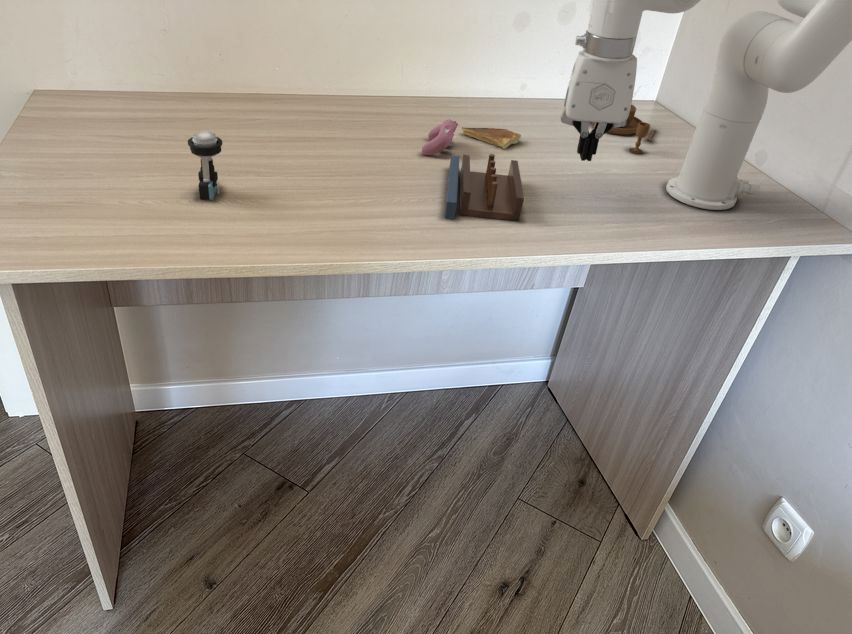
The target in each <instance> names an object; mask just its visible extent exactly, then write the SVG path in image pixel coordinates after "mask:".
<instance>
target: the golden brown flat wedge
mask: <svg viewBox="0 0 852 634" xmlns="http://www.w3.org/2000/svg"><path fill="white" fill-rule="evenodd" d="M461 130H462V135H466V136H468V137H470V138H475V139H477V140H479V141H482V142H486V143H488V144H490V145H495V146H497V147H499V148H502V149H503V150H506V149H508V148H509V147H510V146H511V145H516V144H519V141H520V139H521V138H522V134H521V133H518V132H516V131H515V132H514V131H512V130H509V129H507V128H494V127H463V126H462V127H461Z"/></svg>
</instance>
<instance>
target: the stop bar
mask: <svg viewBox="0 0 852 634" xmlns="http://www.w3.org/2000/svg"><path fill="white" fill-rule="evenodd" d="M459 171H460V156H459V155H452V154H451V155H450V161H449V168H448V177H447V187H446V197H445V198H446V200H445V210H444V218H445V219H451V220H455V215H456V212H457V211H456V210H457V204H458V203H457V202H458V191H459V188H458V187H459V175H460V172H459Z"/></svg>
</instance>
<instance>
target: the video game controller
mask: <svg viewBox="0 0 852 634" xmlns="http://www.w3.org/2000/svg"><path fill="white" fill-rule="evenodd" d="M458 125H459V123H458V122H457V121H456V120H454V119H450V118H448V119H445V120H444V121H442V122H441V124H439V125H437V126H435V127H433V128H432V129H431V130H430V131H429V132H428V135H427V137H428V139H429V141H428V142H426V143H425V144H424V145H423V146H422V147H421V153H422V155H424V156H434V155H436V154H438V153H439V154H442V152H444V150H446V149H447V147H448V146H449V147H451V146H454V145H453V144H454V140H453V138H454V136H455V132H456V129H457V128H458Z"/></svg>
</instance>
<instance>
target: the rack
mask: <svg viewBox="0 0 852 634" xmlns="http://www.w3.org/2000/svg"><path fill="white" fill-rule="evenodd" d="M495 166H496V160H495V154H493V153H489V154H488V160H487V165H486V171H485V172H479V171H471V156H470V155H469V154H463V155H462V160H461V167H460V172H459V215H460V216H467V217H479V218H485V219H496V220H505V221H513V222H514V221H515V222H520V220H521V214H522V210H523V206H524V201H525V195H524V189H523V184H522V178H521V172H520V166H519V161H518V160H515V159H511V160H510V163H509V168H508V174H507V175H506V174H498V173H497V174H496V172H497V168H496V167H495Z"/></svg>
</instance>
